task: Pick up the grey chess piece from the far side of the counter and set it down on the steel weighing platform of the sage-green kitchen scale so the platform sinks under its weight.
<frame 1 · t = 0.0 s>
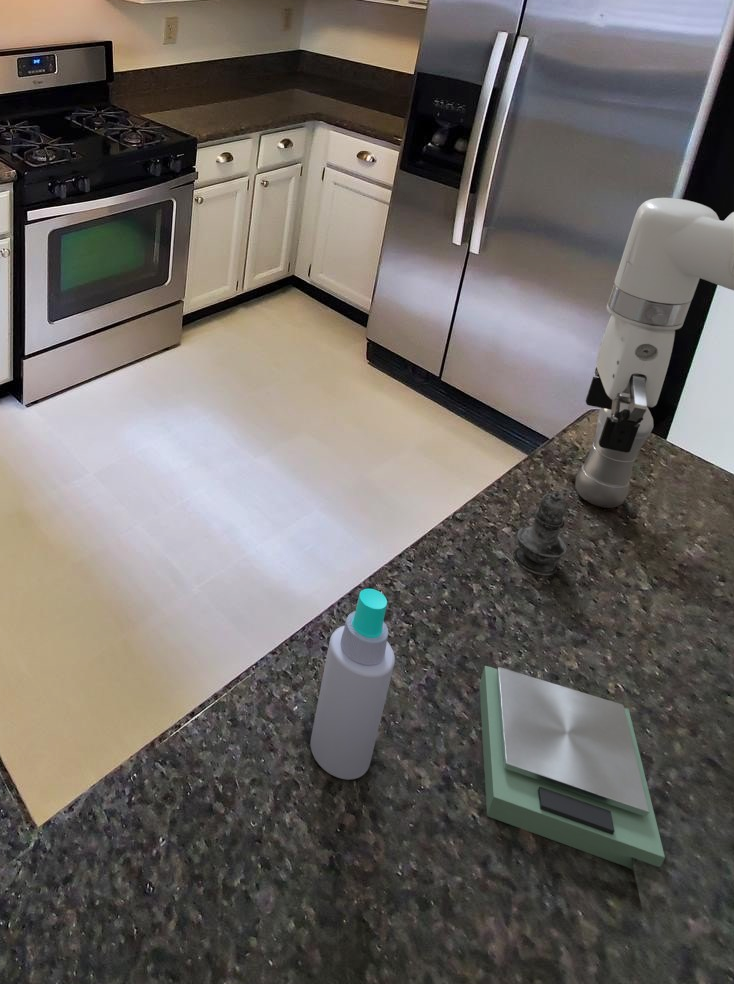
hand: (606, 426, 99), 22 cm above the countertop, tool pointing down, fingers open, 9 cm apart
spray bottle: (339, 754, 84), on the countertop
plastic bottle: (596, 500, 120), on the countertop
grey chess piece: (534, 562, 109), on the countertop
scale: (557, 769, 82), on the countertop
scale platform: (566, 735, 81), point 4 cm above the countertop, slide at 0.0 cm
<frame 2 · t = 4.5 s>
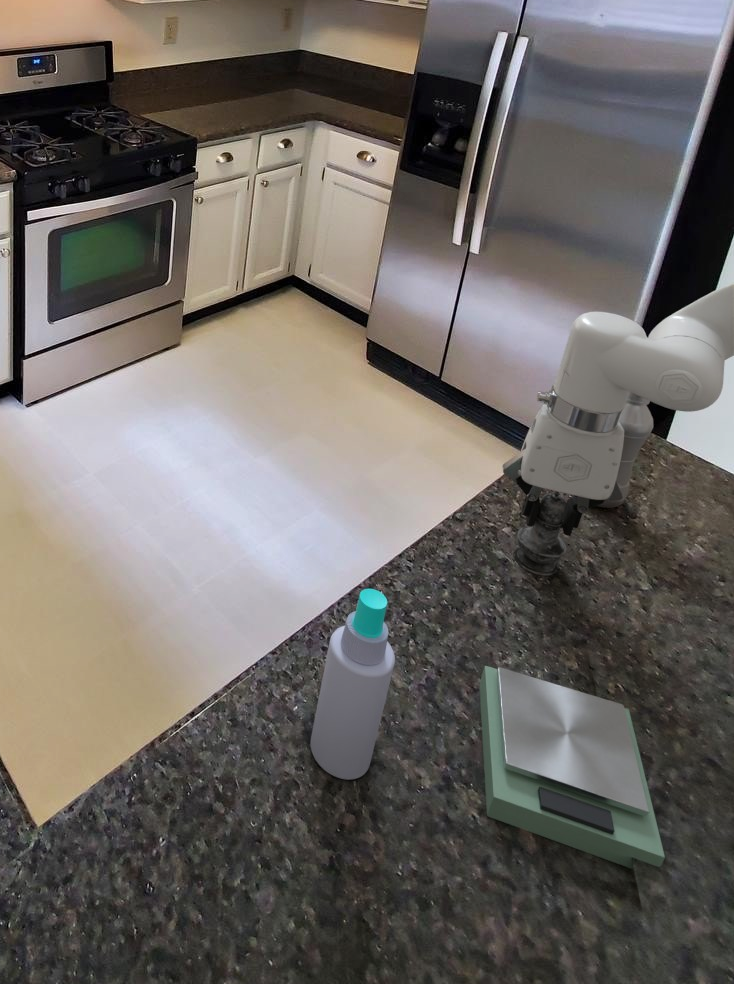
hand: (547, 523, 106), 7 cm above the countertop, tool pointing down, fingers closed on grey chess piece, 3 cm apart
grey chess piece: (534, 562, 109), on the countertop, touching gripper
everything else where it was.
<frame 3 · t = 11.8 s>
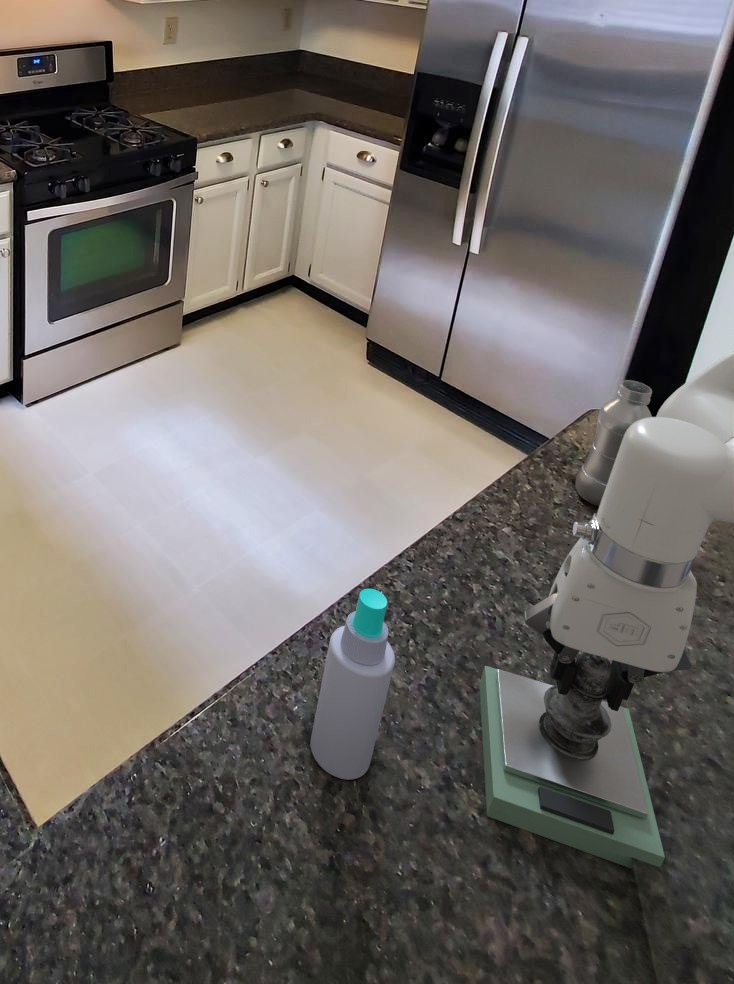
hand: (585, 689, 79), 11 cm above the countertop, tool pointing down, fingers closed on grey chess piece, 3 cm apart
grey chess piece: (567, 735, 81), point 4 cm above the countertop, touching gripper
scale platform: (565, 737, 81), point 4 cm above the countertop, slide at -0.3 cm
everything else where it was.
when the fingers open (11 cm above the countertop, at t = 11.8 s): grey chess piece stays where it is, resting on scale platform.
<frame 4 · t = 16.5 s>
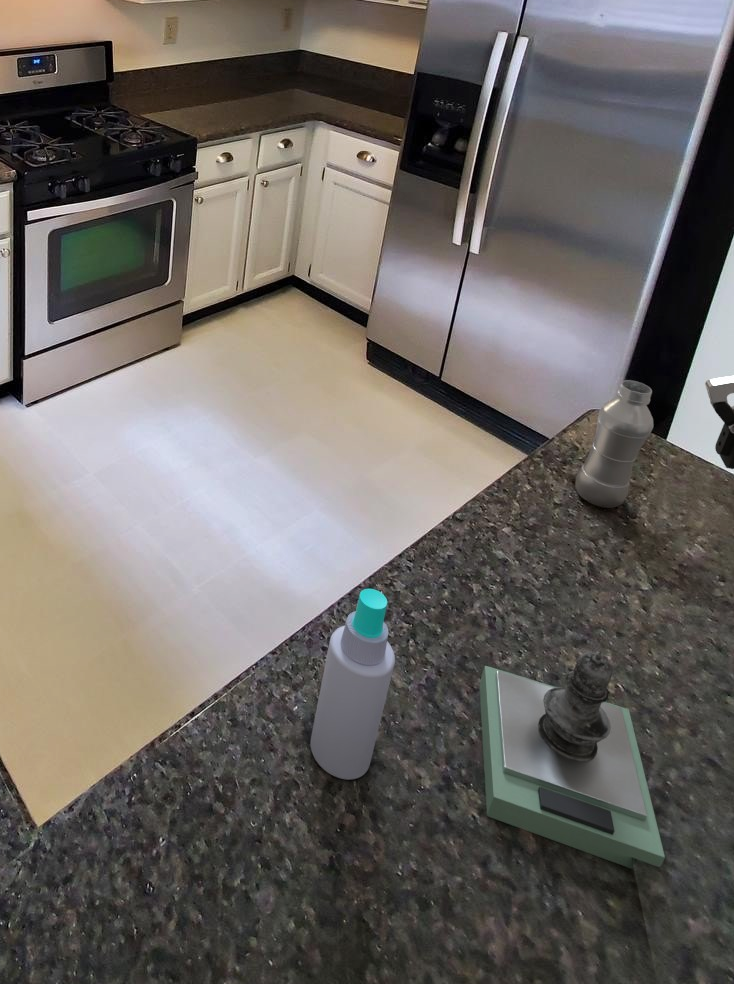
grey chess piece: (566, 737, 81), point 4 cm above the countertop, touching scale platform
scale platform: (564, 739, 82), point 3 cm above the countertop, slide at -0.6 cm, touching grey chess piece, scale
everything else where it was.
at the end: grey chess piece inside the target area on the scale (0.2 cm from its centre), point 3.6 cm above the scale's base; grey chess piece tilted 0°; scale platform slide at -0.6 cm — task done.
